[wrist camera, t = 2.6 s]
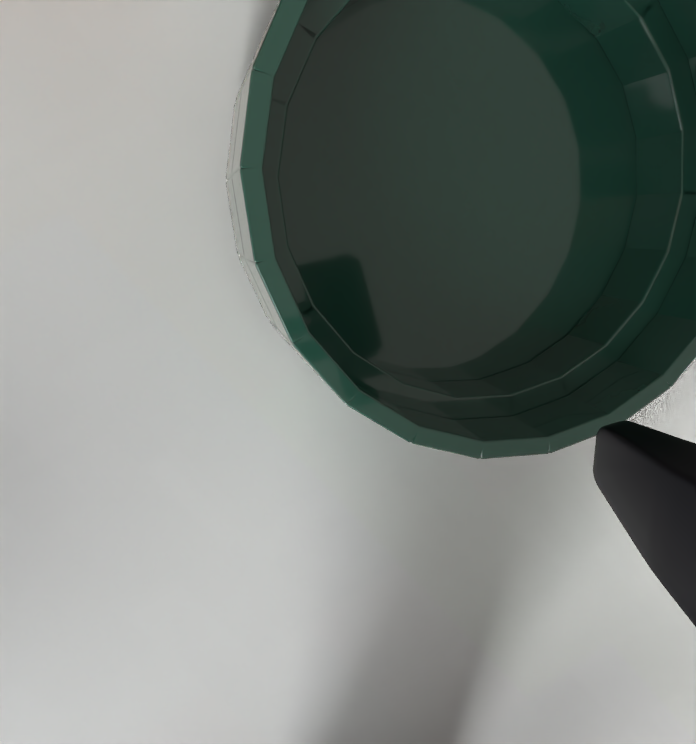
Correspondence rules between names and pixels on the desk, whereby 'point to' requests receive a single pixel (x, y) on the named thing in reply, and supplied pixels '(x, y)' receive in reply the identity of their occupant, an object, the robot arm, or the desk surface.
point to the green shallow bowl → (475, 209)
